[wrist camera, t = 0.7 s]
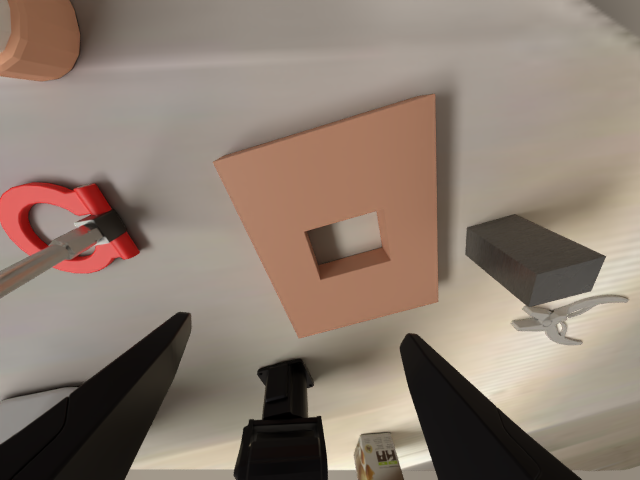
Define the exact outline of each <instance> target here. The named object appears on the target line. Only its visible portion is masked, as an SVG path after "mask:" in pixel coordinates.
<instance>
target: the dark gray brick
mask: <svg viewBox="0 0 640 480" xmlns="http://www.w3.org/2000/svg"><path fill="white" fill-rule="evenodd" d="M465 255H466V256H468V257H469V258H470V259H471V260H472V261H474V262H475V263H476V264H477V265H478V266H480V267H481V268H482V269H483V270H484V271H486V272H487V273H488V274H489V275H490V276H492V277H493V278H494V279H495V280H496V281H498V282H499V283H500V284H501V285H502V286H504V287H505V288H506V289H507V290H508V291H510V292H511V293H512V294H513V295H514V296H516V297H517V298H518V299H519V300H520V301H522V302H523V303H524V304H525V305H526V306H528V307H532V306H535V305H539V304H543V303H547V302H551V301H555V300H559V299H563V298H566V297H570V296H574V295H578V294H582V293H586V292H590V291H591V290H592V288H593V285H594V283H595V281H596V278H597V276H598V274H599V271H600V269H601V267H602V265H603V262H604V260H605V258H606V256H604V255H602V254H600V253H598V252H595V251H593V250H591V249H589V248H587V247H585V246H582V245H580V244H578V243H576V242H574V241H572V240H569V239H567V238H565V237H563V236H561V235H559V234H556V233H554V232H552V231H550V230H548V229H546V228H543V227H541V226H539V225H537V224H535V223H533V222H530V221H528V220H526V219H524V218H522V217H520V216H517V215H515V214H514V215H511V216H507V217H504V218H500V219H496V220H493V221H489V222H486V223H482V224H478V225H475V226H471V227H468V228H467V235H466V252H465Z"/></svg>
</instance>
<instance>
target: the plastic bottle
mask: <svg viewBox="0 0 640 480" xmlns="http://www.w3.org/2000/svg"><path fill="white" fill-rule="evenodd" d="M77 388H78V387H65V388H60V389H55V390H50V391H45V392H40V393H35V394H30V395H25V396H20V397H15V398H10V399H6V400H3V401H1V402H0V444H1V443H3V442H4V441H6V440H7V439H9V438H10V437H12V436H13V435H14V434H16V433H17V432H19V431H20V430H22V429H23V428H24V427H26V426H27V425H29V424H30V423H31V422H33V421H34V420H35V419H37V418H38V417H39V416H41V415H42V414H44V413H45V412H46V411H48V410H49V409H50V408H52V407H53V406H54V405H56V404H57V403H58V402H60V401H61V400H62V399H64V398H65V397H67V396H68V397H69V395H70V393H72V392H73V391H74V390H76V389H77Z"/></svg>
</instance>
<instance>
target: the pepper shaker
mask: <svg viewBox="0 0 640 480" xmlns="http://www.w3.org/2000/svg"><path fill="white" fill-rule="evenodd" d="M79 46H80V32H79V28H78V23H77V19H76V15H75V11H74V8H73V6H72V4H71V2H70V0H0V76H2V77H10V78H18V79H26V80H34V81H47V80H54V79H59V78H61V77H62V76H63V75H65V74H66V73H68V72H69V71H70V70H72V68H73V66H74V64H75V62H76V60H77V58H78V56H79Z"/></svg>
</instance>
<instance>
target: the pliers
mask: <svg viewBox="0 0 640 480" xmlns="http://www.w3.org/2000/svg"><path fill="white" fill-rule="evenodd" d="M628 301H629V300H628V299H627V298H624V297H621V296H616V295H602V296H595V297H590V298H585V299H582V300H579V301H576V302H574V303H571V304H569V305H567V306H564V307H561V308H558V309H554V313H552V312H551V311H549V310H546V309H544V308H537V307H528V306H524V307H523V308H522V310H524V311H525V312H526V313H527V314H528V315H530V316H532V317H534V318H530V319H522V320H514V321H512V322H511V325H512V326H513V327H514V328H515V329H516V330H517V331H545V334H546V335H547V337H548V338H549V339H551V340H552V341H554V342H556V343H559V344H563V345H581V344H582V343H583V342H581V341H579V340H573V339H569V338H566V337H565V334H566V331H567V327H566V325H565V324H564V323H563V322H562V321H566V320H567V317H568V318H571V317H575V316H577V315H580V314H582V313H584V312H586V311H588V310H589V309H591V308H592V307H594V306H596V305H598V304H604V303H619V302H625V303H627V302H628ZM579 309H581V310H579ZM577 310H579V311H577ZM574 311H577V312H574ZM572 312H574V313H572ZM570 313H571V314H570ZM567 314H568V315H567ZM560 321H561V322H560ZM559 322H560V323H561V325H562V330H561V332H560V333H558V331H557V328H556V326H555V325H556V324H558V323H559Z"/></svg>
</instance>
